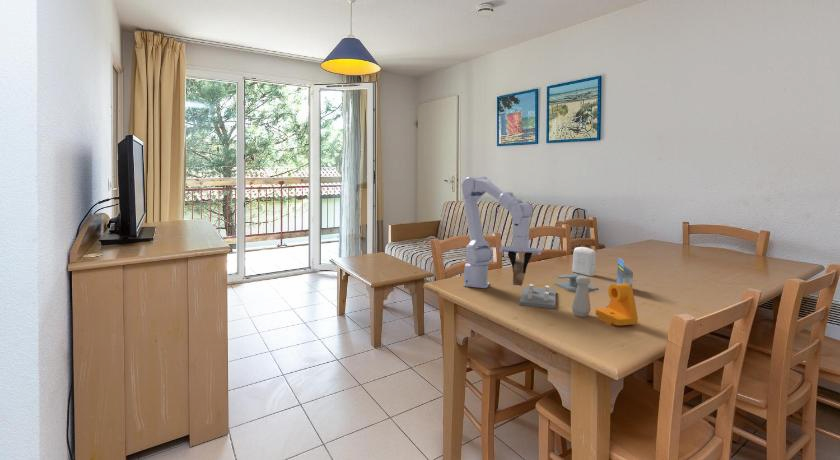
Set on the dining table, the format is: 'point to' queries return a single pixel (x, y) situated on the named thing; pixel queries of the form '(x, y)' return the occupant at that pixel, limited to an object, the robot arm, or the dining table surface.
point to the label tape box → (624, 274)
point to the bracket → (619, 306)
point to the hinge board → (538, 297)
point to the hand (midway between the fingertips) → (519, 272)
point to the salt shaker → (582, 297)
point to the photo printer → (584, 261)
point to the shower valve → (572, 283)
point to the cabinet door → (518, 272)
